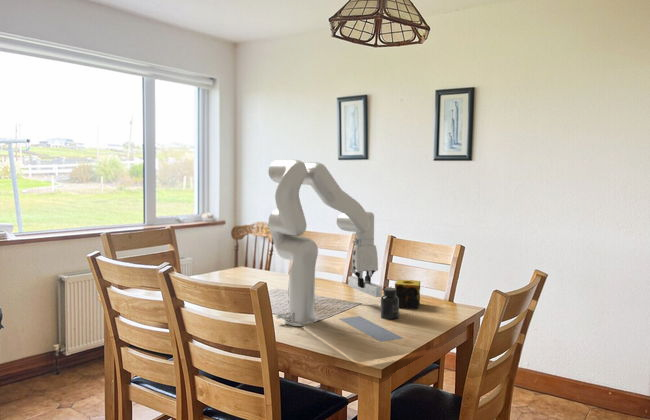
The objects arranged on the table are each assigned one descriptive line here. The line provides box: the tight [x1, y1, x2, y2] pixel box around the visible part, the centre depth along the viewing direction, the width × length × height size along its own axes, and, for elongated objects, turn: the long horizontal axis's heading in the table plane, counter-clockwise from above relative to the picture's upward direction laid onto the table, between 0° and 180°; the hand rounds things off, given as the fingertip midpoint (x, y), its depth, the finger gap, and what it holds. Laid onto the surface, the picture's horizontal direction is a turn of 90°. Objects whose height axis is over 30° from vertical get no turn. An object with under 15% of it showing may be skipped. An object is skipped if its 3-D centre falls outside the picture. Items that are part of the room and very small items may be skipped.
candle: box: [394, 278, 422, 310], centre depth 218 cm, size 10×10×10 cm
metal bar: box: [347, 275, 383, 298], centre depth 213 cm, size 2×22×4 cm, turn 27°
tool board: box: [339, 315, 404, 343], centre depth 183 cm, size 9×28×1 cm, turn 27°
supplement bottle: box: [380, 287, 400, 321], centre depth 196 cm, size 7×7×12 cm
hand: (364, 286), depth 213 cm, fingers closed on metal bar, 2 cm apart
